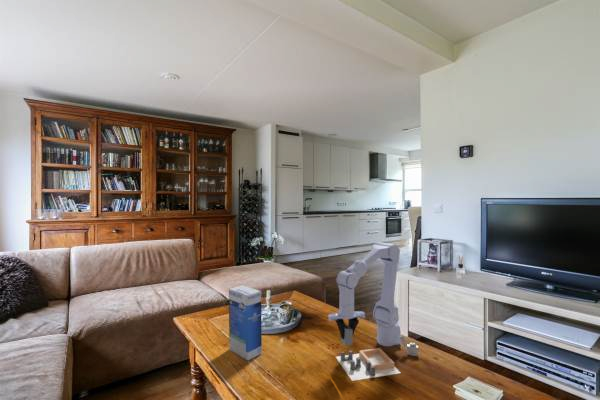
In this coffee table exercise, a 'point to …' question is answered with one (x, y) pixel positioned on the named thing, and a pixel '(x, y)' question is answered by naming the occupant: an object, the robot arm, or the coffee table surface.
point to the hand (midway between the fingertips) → (346, 337)
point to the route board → (363, 366)
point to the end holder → (376, 351)
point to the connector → (347, 336)
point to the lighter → (409, 347)
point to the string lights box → (245, 322)
